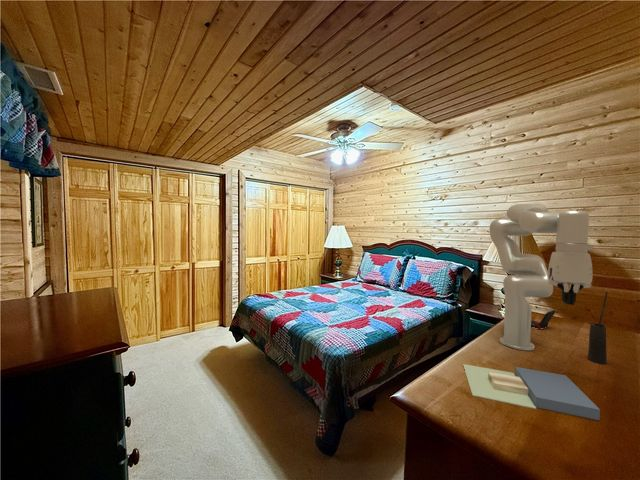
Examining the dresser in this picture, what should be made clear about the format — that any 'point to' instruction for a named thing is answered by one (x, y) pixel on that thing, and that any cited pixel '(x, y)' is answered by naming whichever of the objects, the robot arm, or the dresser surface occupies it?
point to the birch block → (508, 383)
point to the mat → (484, 388)
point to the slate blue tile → (557, 393)
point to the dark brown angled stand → (543, 320)
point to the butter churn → (598, 340)
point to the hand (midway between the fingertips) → (568, 303)
